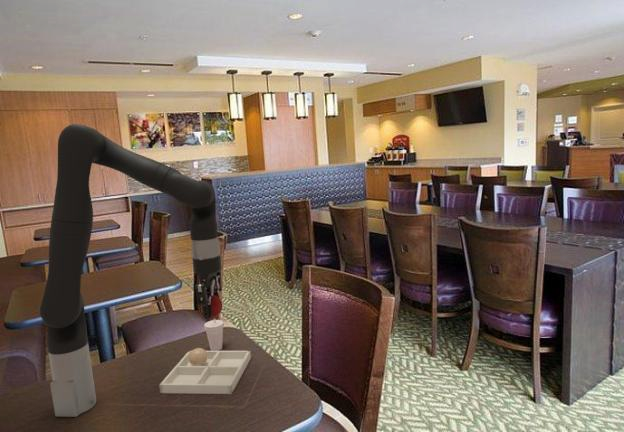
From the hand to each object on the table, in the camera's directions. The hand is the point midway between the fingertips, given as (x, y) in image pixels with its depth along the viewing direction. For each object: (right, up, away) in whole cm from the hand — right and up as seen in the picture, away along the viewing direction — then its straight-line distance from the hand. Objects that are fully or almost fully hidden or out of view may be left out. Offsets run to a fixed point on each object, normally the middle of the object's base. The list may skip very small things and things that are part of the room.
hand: (211, 313), depth 119 cm
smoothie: (-4, -19, +25) cm, 32 cm away
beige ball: (-7, -19, +14) cm, 25 cm away
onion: (0, -2, 0) cm, 2 cm away
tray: (-3, -21, +8) cm, 23 cm away
